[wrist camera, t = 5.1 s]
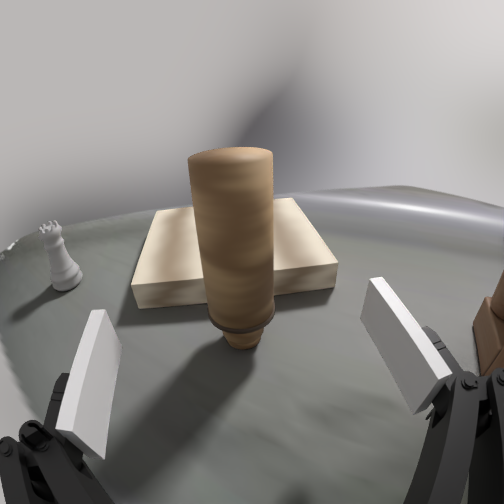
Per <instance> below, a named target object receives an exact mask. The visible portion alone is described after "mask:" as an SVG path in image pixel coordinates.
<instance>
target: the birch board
mask: <svg viewBox="0 0 504 504" xmlns="http://www.w3.org/2000/svg"><path fill="white" fill-rule="evenodd" d="M273 217H274V295H282V294H289V293H297V292H304V291H311V290H318V289H325V288H332V287H335V283H336V276H337V269H338V261H337V260H336V258H335V257H334V256H333V254H332V253H331V251H330V250H329V248H328V247H327V245H326V244H325V243H324V241H323V240H322V238H321V237H320V235H319V234H318V233H317V231H316V230H315V228H314V227H313V226H312V224H311V223H310V221H309V220H308V219H307V217H306V216H305V215H304V213H303V212H302V210H301V209H300V208H299V206H298V205H297V204H296V202H295V201H294V200H293V198H283V199H273ZM131 287H132V290H133V293H134V296H135V299H136V302H137V305H138V308H139V309H144V308H157V307H169V306H181V305H192V304H202V303H208V302H207V296H206V290H205V284H204V278H203V272H202V265H201V259H200V252H199V245H198V239H197V231H196V224H195V217H194V209H193V207H186V208H177V209H169V210H161V211H157V212H156V215H155V217H154V220H153V222H152V225H151V228H150V230H149V233H148V236H147V239H146V241H145V244H144V247H143V250H142V253H141V256H140V259H139V261H138V264H137V267H136V270H135V273H134V277H133V280H132V283H131Z"/></svg>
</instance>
